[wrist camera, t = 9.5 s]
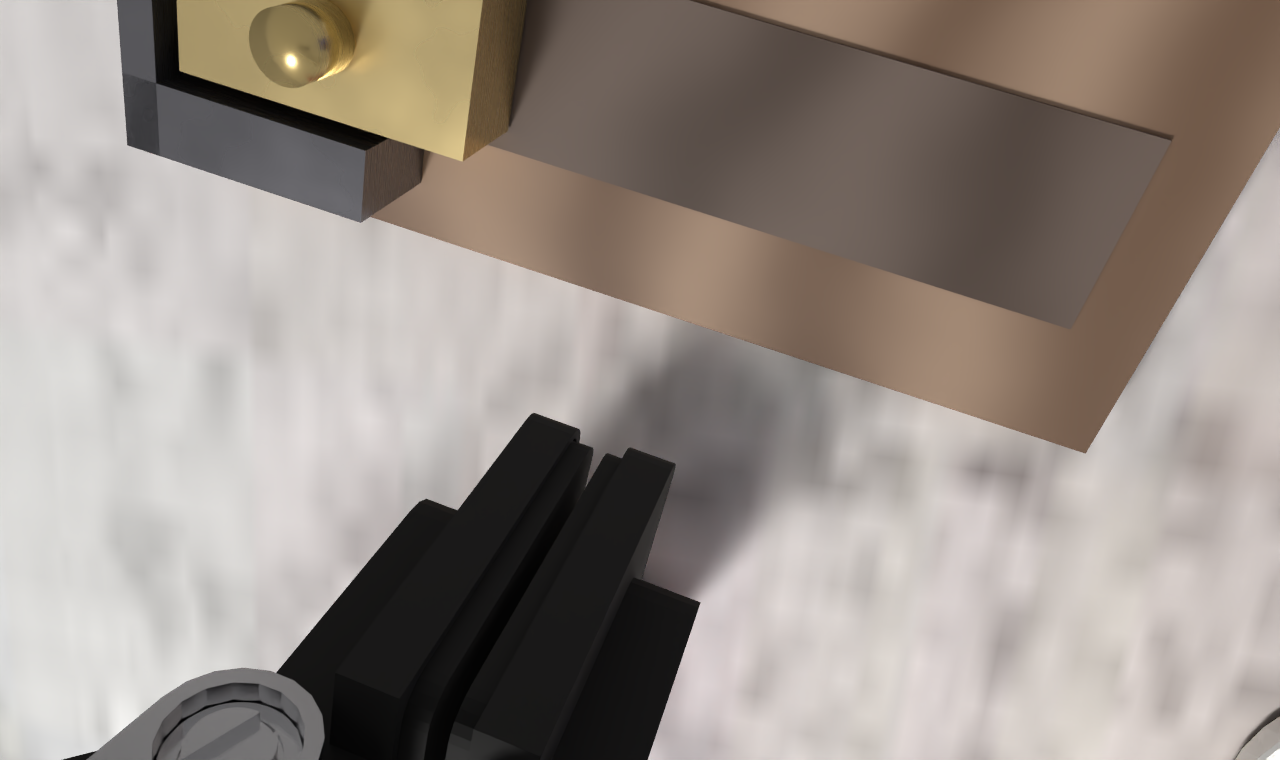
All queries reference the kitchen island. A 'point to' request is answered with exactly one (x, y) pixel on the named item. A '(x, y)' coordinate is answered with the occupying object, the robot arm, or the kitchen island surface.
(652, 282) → the door panel
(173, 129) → the keeper
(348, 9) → the bolt
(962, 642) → the kitchen island surface
